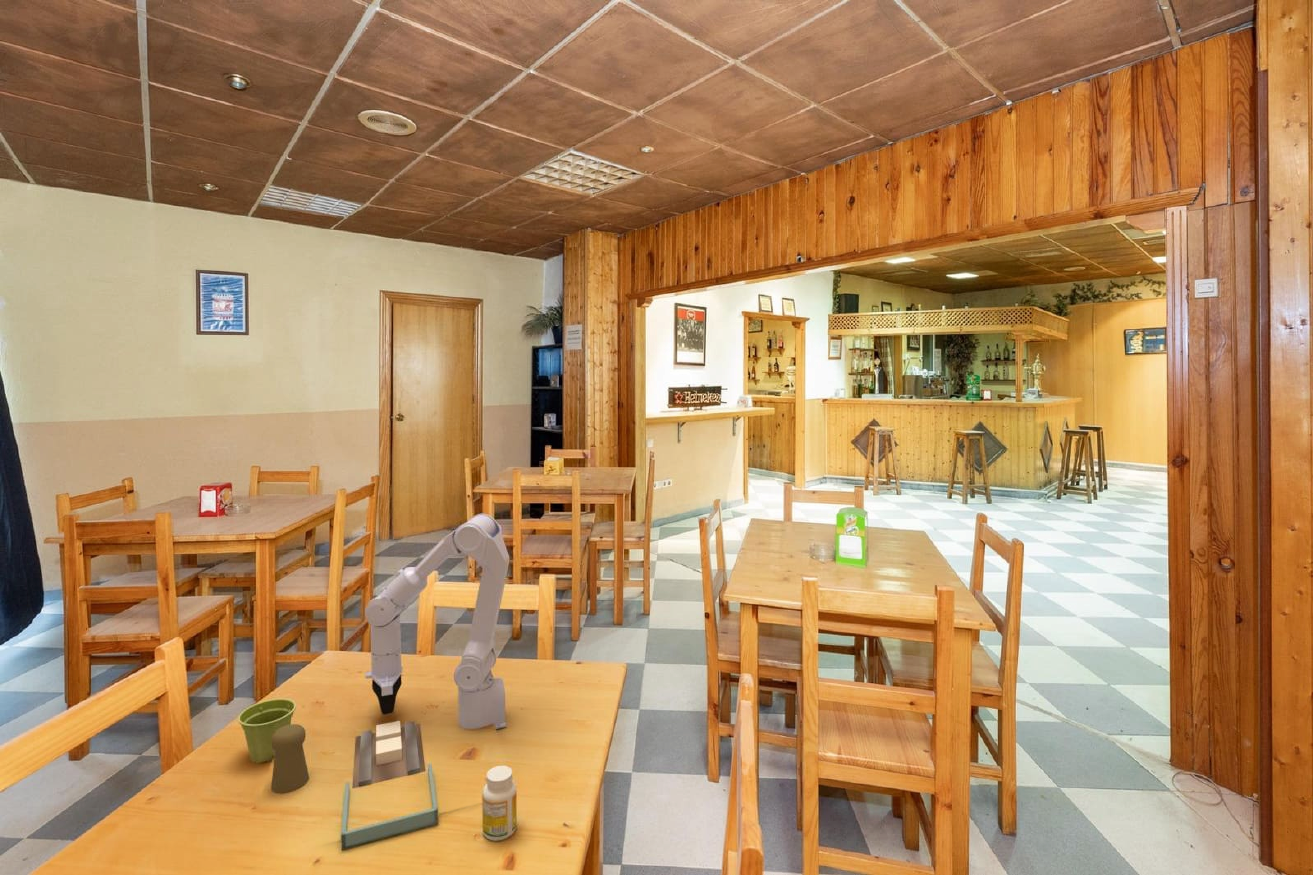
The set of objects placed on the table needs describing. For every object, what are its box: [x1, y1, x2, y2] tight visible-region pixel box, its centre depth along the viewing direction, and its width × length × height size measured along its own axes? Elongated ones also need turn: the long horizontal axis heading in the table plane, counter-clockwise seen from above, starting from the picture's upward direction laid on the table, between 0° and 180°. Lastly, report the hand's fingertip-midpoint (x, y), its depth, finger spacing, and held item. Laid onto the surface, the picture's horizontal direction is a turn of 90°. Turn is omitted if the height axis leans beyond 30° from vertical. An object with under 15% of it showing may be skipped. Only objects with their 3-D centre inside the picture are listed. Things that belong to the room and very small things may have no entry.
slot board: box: [351, 720, 426, 789], centre depth 117 cm, size 12×17×2 cm
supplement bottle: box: [481, 765, 518, 842], centre depth 98 cm, size 5×5×10 cm
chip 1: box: [375, 720, 401, 741], centre depth 121 cm, size 4×4×2 cm
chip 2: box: [376, 736, 402, 765], centre depth 116 cm, size 4×4×2 cm
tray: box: [340, 762, 439, 851], centre depth 102 cm, size 14×13×2 cm
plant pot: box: [237, 698, 297, 764], centre depth 117 cm, size 9×9×9 cm
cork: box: [270, 723, 310, 795], centre depth 107 cm, size 6×6×11 cm
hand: (387, 712), depth 129 cm, fingers closed
